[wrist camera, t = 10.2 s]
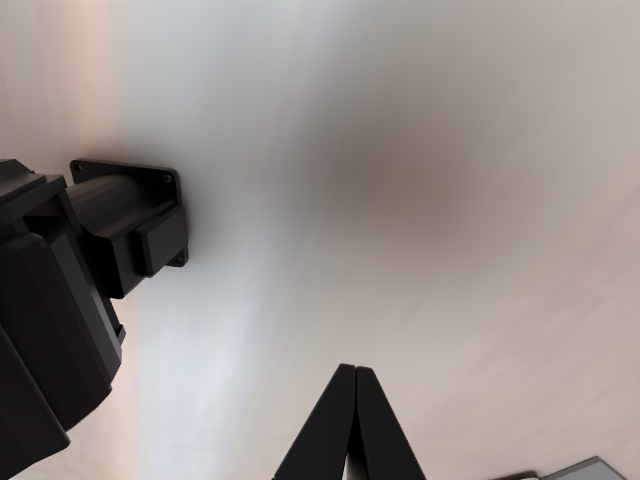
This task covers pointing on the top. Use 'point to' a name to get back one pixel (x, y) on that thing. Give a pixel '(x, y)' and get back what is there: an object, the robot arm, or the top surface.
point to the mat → (587, 472)
